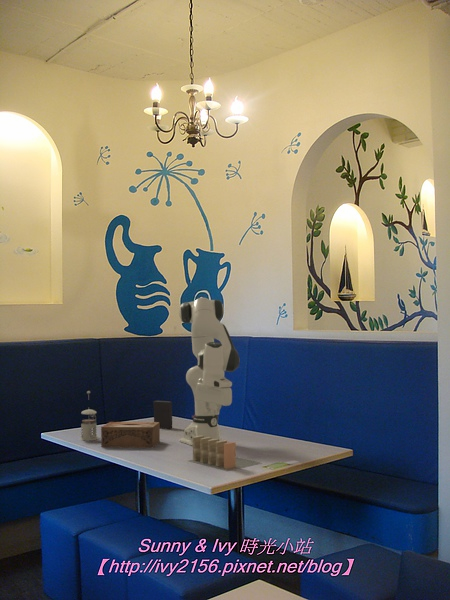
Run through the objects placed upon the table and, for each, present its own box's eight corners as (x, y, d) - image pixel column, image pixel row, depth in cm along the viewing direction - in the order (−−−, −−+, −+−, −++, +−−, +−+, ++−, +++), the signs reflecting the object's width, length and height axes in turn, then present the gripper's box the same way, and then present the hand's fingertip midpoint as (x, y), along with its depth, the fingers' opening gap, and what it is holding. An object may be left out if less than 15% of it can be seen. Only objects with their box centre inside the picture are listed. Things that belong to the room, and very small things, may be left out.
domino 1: (193, 460, 274) (192, 437, 275) (201, 458, 278) (201, 435, 278) (195, 460, 273) (195, 437, 273) (204, 459, 277) (204, 435, 277)
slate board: (186, 463, 274) (186, 460, 274) (221, 455, 287) (221, 453, 287) (227, 473, 254) (227, 471, 254) (262, 465, 268) (262, 463, 268)
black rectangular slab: (173, 428, 361) (172, 401, 361) (168, 429, 357) (168, 402, 357) (157, 426, 366) (157, 400, 367) (153, 427, 363) (152, 401, 363)
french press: (76, 440, 328) (75, 391, 329) (86, 436, 339) (85, 389, 340) (93, 441, 326) (93, 392, 326) (103, 436, 337) (102, 389, 337)
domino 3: (208, 464, 267) (207, 440, 267) (217, 462, 270) (216, 438, 271) (210, 464, 266) (210, 440, 266) (219, 462, 269) (219, 439, 269)
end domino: (224, 468, 260) (223, 443, 260) (232, 466, 263) (232, 441, 263) (226, 468, 258) (226, 444, 259) (235, 466, 262) (235, 442, 262)
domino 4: (215, 466, 263) (215, 441, 264) (224, 464, 267) (224, 440, 267) (218, 466, 262) (218, 442, 262) (227, 464, 265) (227, 440, 266)
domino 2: (200, 462, 271) (200, 438, 271) (209, 460, 274) (209, 437, 274) (202, 462, 270) (202, 439, 270) (211, 460, 273) (211, 437, 273)
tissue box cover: (101, 447, 311) (101, 426, 311) (110, 441, 325) (110, 421, 325) (153, 448, 308) (152, 427, 308) (159, 442, 322) (159, 422, 322)
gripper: (191, 378, 275) (191, 410, 275) (223, 384, 260) (222, 418, 260) (203, 377, 279) (202, 409, 279) (234, 383, 264) (234, 416, 264)
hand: (212, 413), depth 269 cm, fingers open, 4 cm apart
